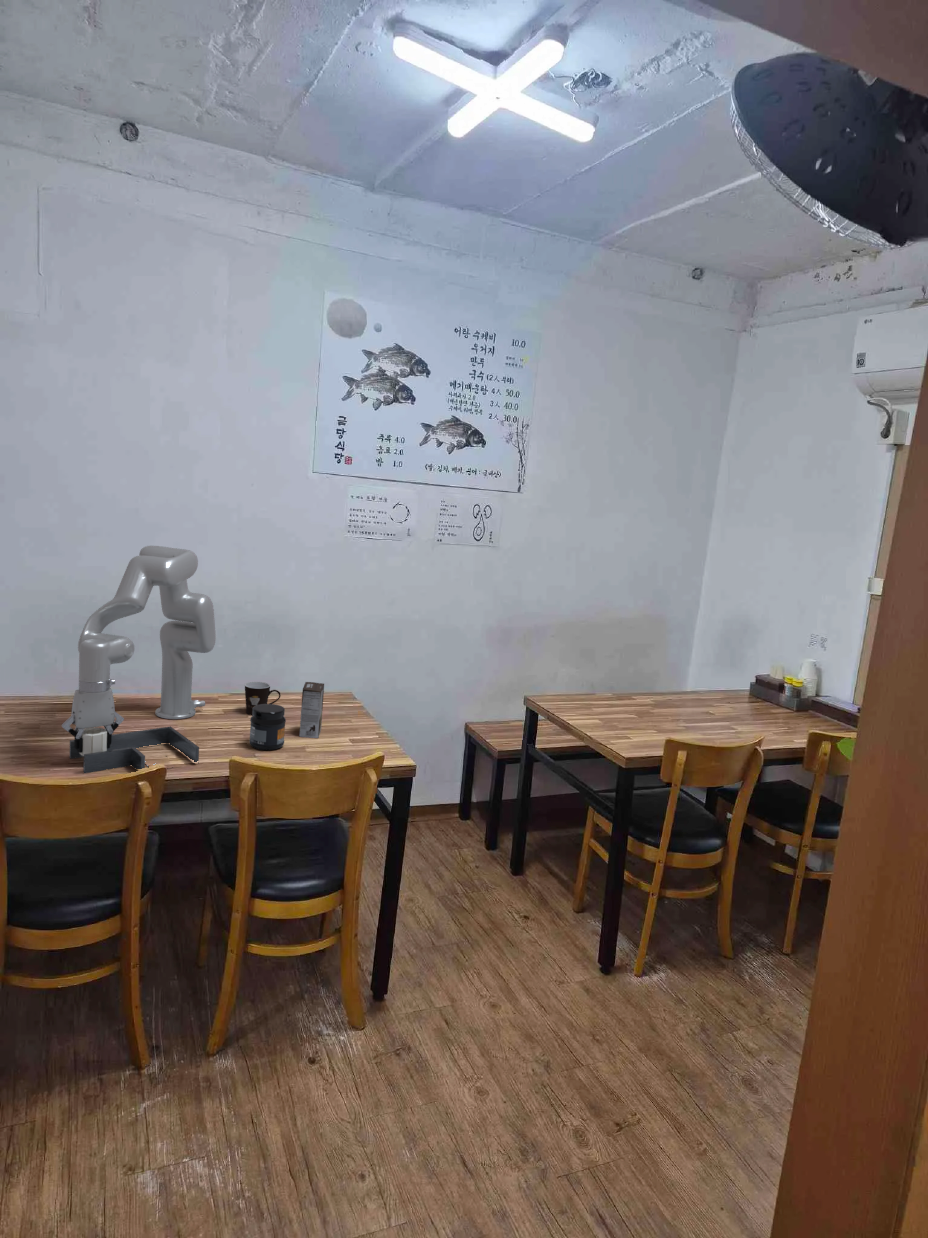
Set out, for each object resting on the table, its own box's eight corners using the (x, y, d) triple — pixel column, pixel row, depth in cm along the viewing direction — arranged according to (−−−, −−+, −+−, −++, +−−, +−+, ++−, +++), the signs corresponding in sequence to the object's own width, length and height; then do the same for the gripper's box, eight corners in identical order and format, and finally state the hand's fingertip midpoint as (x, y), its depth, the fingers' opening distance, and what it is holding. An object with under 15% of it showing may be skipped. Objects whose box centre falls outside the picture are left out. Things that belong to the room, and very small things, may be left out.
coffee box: (302, 728, 256) (305, 681, 253) (321, 729, 257) (325, 682, 254) (298, 737, 247) (301, 688, 244) (318, 738, 248) (322, 690, 245)
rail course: (170, 742, 231) (170, 726, 230) (198, 764, 217) (199, 747, 216) (69, 757, 212) (69, 740, 211) (93, 782, 198) (93, 764, 197)
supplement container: (289, 743, 241) (292, 706, 239) (274, 753, 231) (276, 715, 229) (259, 737, 243) (261, 701, 241) (242, 747, 233) (244, 709, 231)
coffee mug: (237, 713, 264) (239, 685, 263) (253, 707, 272) (255, 680, 271) (265, 720, 260) (267, 691, 259) (280, 714, 268) (282, 686, 266)
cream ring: (101, 747, 214) (101, 726, 213) (109, 754, 210) (109, 733, 209) (76, 750, 210) (77, 729, 209) (84, 758, 205) (84, 736, 204)
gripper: (122, 679, 215) (120, 740, 218) (55, 685, 203) (54, 749, 206) (132, 685, 210) (130, 748, 213) (63, 692, 198) (62, 758, 201)
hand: (93, 748), depth 209 cm, fingers closed on cream ring, 6 cm apart
